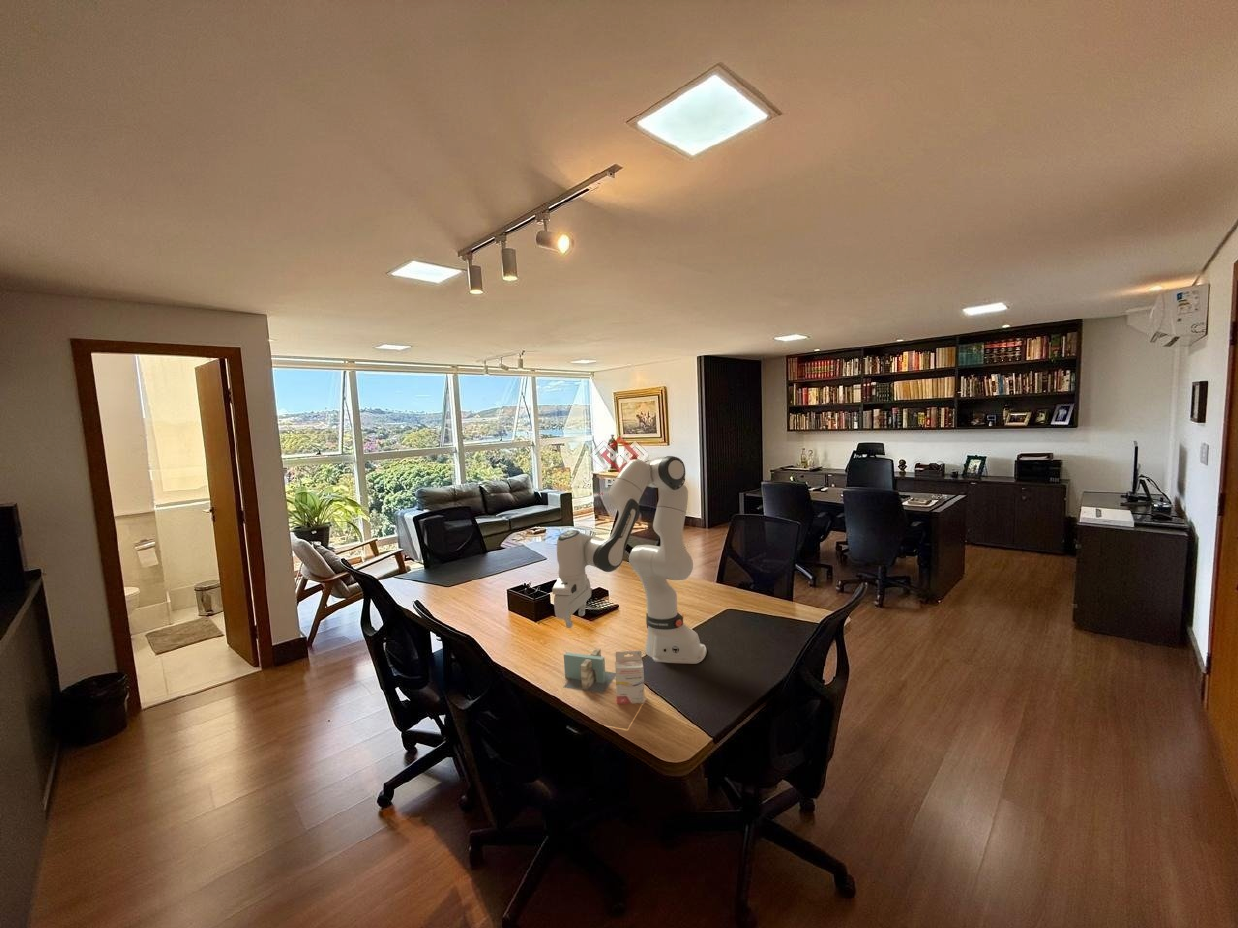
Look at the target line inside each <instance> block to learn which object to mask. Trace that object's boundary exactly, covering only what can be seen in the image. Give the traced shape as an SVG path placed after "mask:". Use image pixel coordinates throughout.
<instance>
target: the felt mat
mask: <svg viewBox="0 0 1238 928" xmlns="http://www.w3.org/2000/svg"><path fill="white" fill-rule="evenodd" d="M605 677H606V681H605V682H604V683H598V682H596V680H595V681H594V682H593V683H592V685H591V686H590V687H589V688H588V690H583V689H582V680H578V679H571V678H569V680H568V681H567V682H566V683H565V684H564V685H563V688H566V689H571V690H578V691H584V692H590V693H597V694H603V695H604V693H605V692H606V690H607V689H608V688H609V686H610V684H611V683H612V682H613V681H614V679H616V672H611V671H606V670H605Z"/></svg>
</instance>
